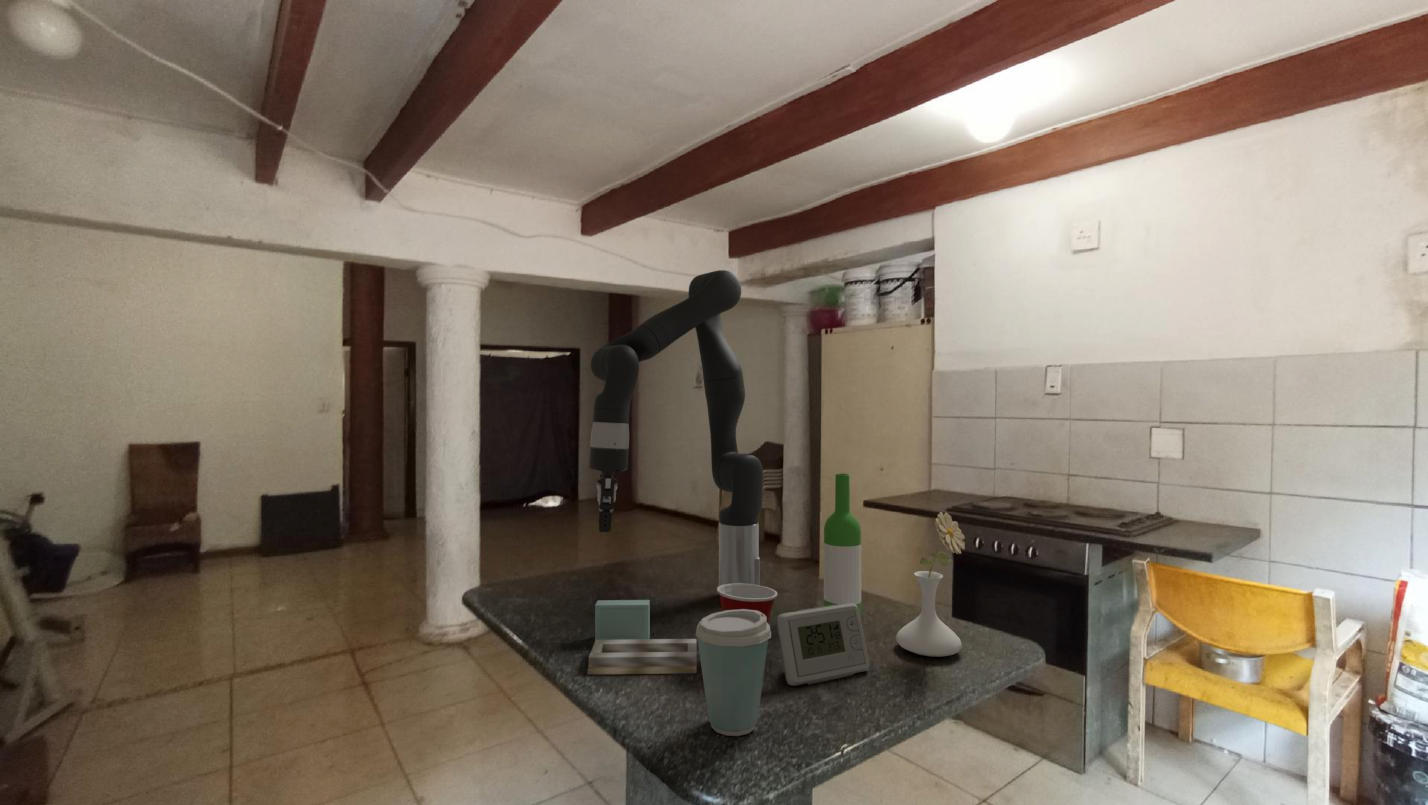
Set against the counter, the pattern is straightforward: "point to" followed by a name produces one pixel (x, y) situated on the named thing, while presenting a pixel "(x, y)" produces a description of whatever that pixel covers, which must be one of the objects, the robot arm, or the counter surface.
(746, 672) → the disposable coffee cup
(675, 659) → the board
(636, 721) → the counter surface
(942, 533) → the flower in vase
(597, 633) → the green rectangular block
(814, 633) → the digital clock
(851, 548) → the wine bottle
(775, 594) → the plastic cup
